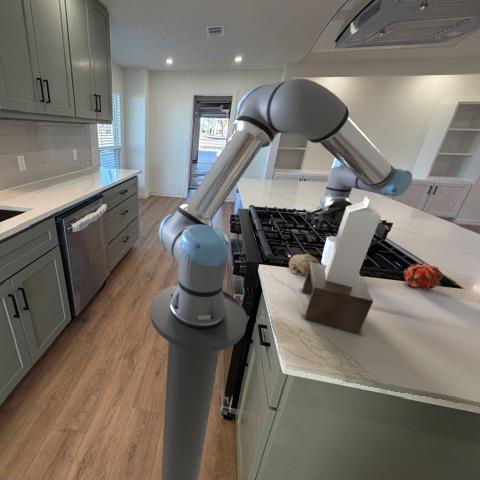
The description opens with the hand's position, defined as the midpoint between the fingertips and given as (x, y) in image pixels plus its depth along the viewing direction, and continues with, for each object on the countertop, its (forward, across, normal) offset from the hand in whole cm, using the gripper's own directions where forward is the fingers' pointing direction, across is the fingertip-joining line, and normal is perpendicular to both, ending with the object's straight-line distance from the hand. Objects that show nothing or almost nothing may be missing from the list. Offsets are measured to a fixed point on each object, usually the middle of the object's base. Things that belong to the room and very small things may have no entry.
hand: (352, 230), depth 64 cm
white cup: (-29, -5, -23) cm, 38 cm away
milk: (+2, 0, -13) cm, 14 cm away
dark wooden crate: (+3, 0, -23) cm, 23 cm away
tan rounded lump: (-19, +5, -23) cm, 31 cm away
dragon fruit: (-26, -29, -23) cm, 45 cm away
